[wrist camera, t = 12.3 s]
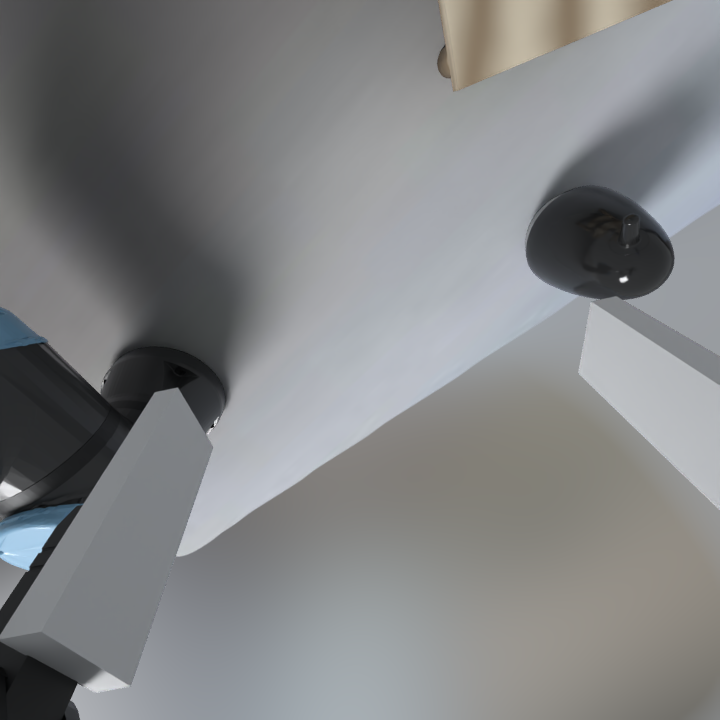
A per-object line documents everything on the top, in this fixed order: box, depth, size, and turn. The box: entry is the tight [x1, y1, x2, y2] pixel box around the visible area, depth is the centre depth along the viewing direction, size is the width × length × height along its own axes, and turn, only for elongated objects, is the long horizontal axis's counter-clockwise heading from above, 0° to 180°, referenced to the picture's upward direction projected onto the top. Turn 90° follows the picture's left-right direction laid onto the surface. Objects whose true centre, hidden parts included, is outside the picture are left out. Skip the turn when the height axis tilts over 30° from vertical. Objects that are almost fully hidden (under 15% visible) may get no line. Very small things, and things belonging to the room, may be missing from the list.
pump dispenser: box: [525, 185, 674, 300], centre depth 35 cm, size 10×10×15 cm
